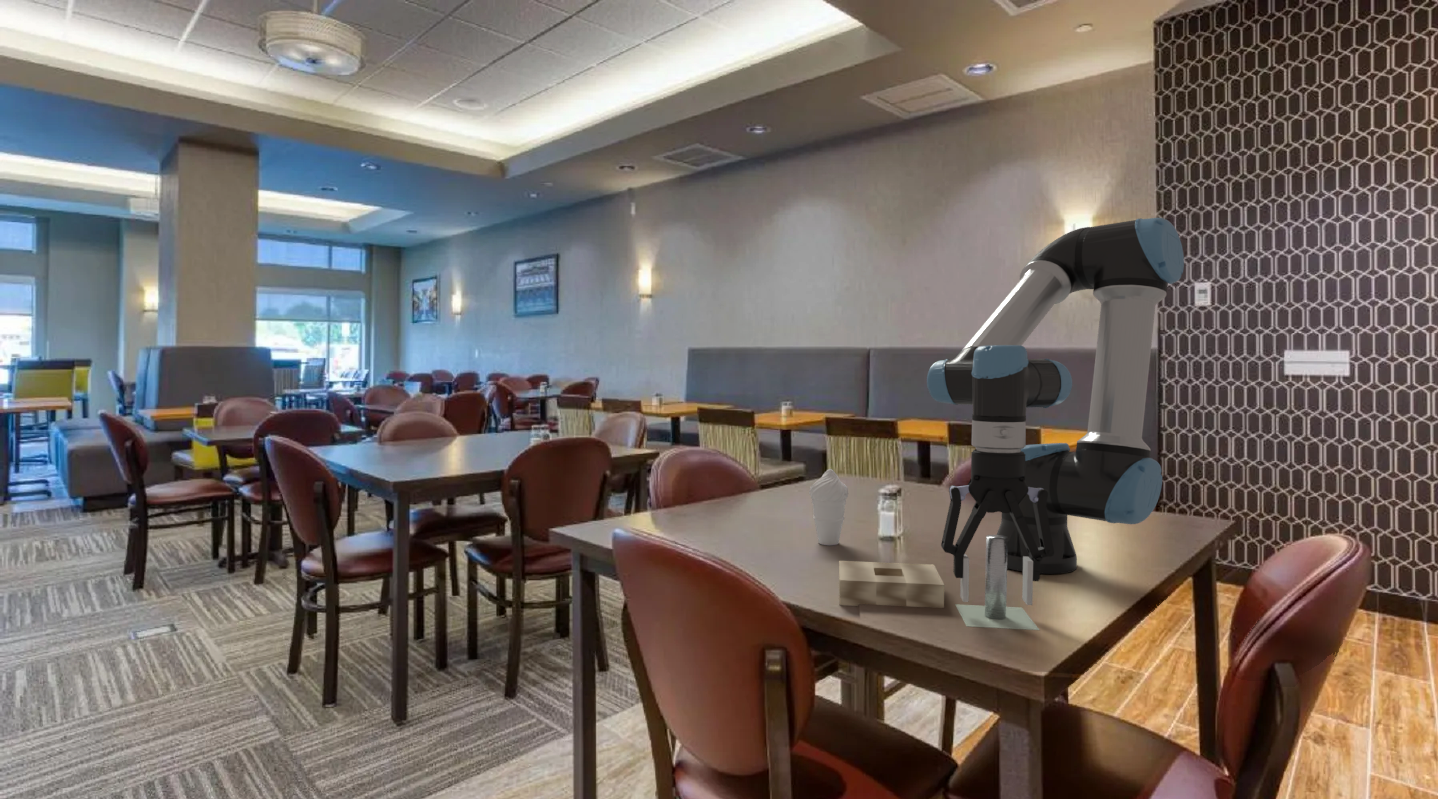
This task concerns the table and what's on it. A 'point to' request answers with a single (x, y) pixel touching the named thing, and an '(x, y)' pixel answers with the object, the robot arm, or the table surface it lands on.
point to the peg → (996, 577)
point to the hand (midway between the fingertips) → (995, 600)
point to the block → (890, 584)
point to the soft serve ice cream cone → (828, 507)
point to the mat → (1014, 620)
